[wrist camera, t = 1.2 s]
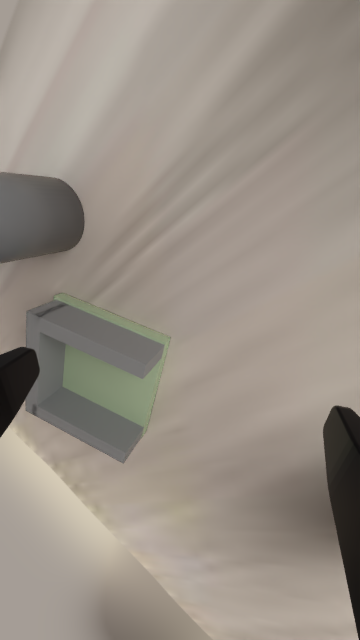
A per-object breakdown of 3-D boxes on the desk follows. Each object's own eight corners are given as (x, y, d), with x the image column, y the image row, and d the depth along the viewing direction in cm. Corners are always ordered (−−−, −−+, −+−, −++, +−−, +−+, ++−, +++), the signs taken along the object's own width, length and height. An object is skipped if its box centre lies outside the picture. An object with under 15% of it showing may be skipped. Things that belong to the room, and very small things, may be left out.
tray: (170, 337, 22) (146, 361, 19) (146, 431, 27) (123, 465, 23) (62, 292, 25) (23, 307, 21) (56, 385, 29) (22, 410, 25)
